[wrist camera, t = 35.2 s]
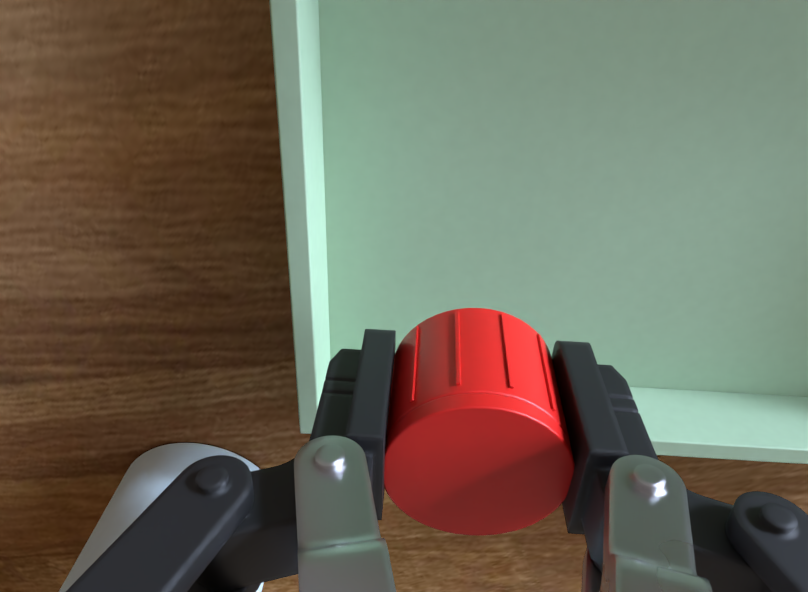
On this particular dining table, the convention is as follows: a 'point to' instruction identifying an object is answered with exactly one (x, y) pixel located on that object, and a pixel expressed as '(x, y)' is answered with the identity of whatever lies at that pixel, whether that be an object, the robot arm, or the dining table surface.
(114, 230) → the dining table surface
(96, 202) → the dining table surface
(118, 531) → the bottle
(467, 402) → the cap
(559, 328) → the tray
